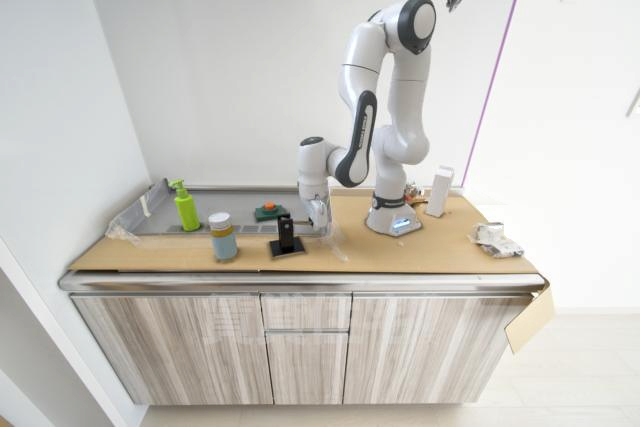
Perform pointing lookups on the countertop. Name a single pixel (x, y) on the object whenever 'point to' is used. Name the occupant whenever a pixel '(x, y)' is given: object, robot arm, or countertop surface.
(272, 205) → the button
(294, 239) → the bracket
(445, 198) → the milk
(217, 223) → the bottle
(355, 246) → the countertop surface
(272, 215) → the button block
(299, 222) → the lever
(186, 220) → the soap dispenser
